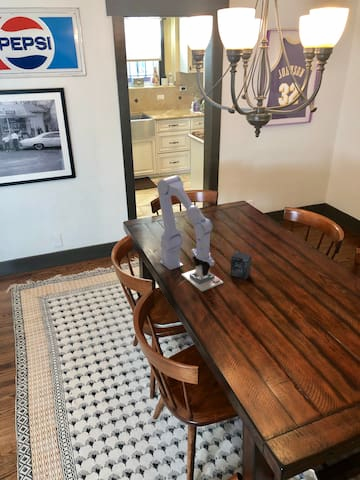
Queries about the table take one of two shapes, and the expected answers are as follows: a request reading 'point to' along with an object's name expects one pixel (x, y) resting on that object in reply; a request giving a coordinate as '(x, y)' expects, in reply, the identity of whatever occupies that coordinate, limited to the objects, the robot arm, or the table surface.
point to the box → (240, 265)
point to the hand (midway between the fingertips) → (202, 272)
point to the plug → (200, 271)
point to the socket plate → (202, 280)
